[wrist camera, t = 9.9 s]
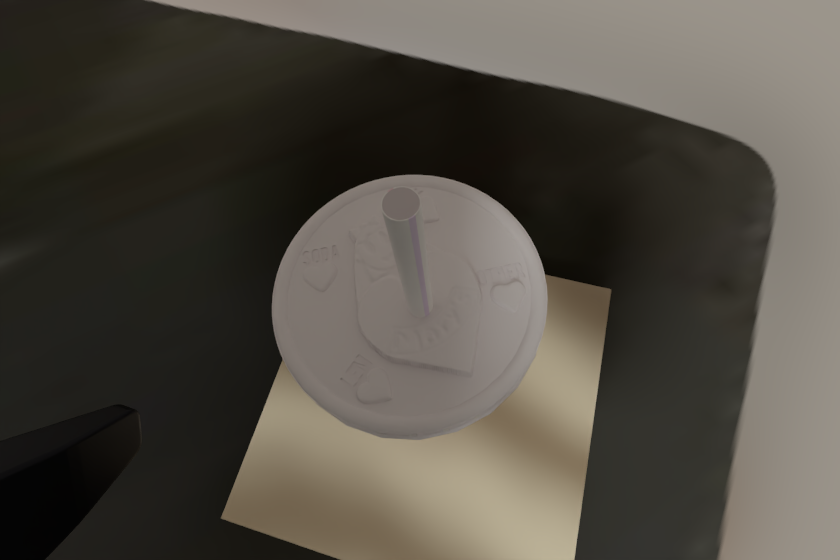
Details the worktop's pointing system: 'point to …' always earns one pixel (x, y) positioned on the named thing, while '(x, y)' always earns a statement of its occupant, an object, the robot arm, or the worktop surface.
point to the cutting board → (438, 463)
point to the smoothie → (410, 306)
